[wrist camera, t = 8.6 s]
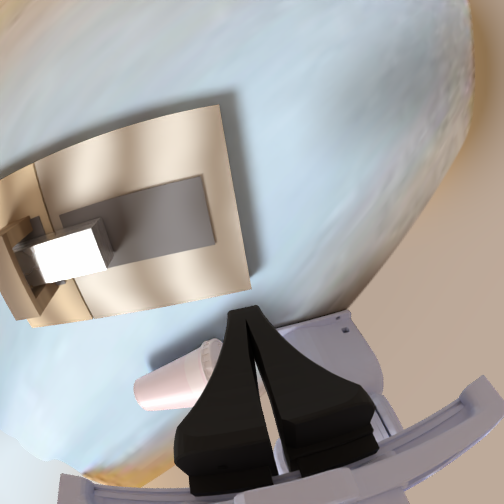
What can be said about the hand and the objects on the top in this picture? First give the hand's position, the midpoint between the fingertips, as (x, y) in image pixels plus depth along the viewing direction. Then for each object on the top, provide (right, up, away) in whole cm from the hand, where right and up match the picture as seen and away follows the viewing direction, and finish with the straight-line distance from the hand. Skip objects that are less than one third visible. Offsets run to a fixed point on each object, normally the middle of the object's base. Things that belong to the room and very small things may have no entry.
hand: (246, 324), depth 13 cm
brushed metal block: (-14, +3, +5) cm, 16 cm away
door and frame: (-12, +5, +7) cm, 15 cm away
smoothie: (-11, -11, +12) cm, 20 cm away
